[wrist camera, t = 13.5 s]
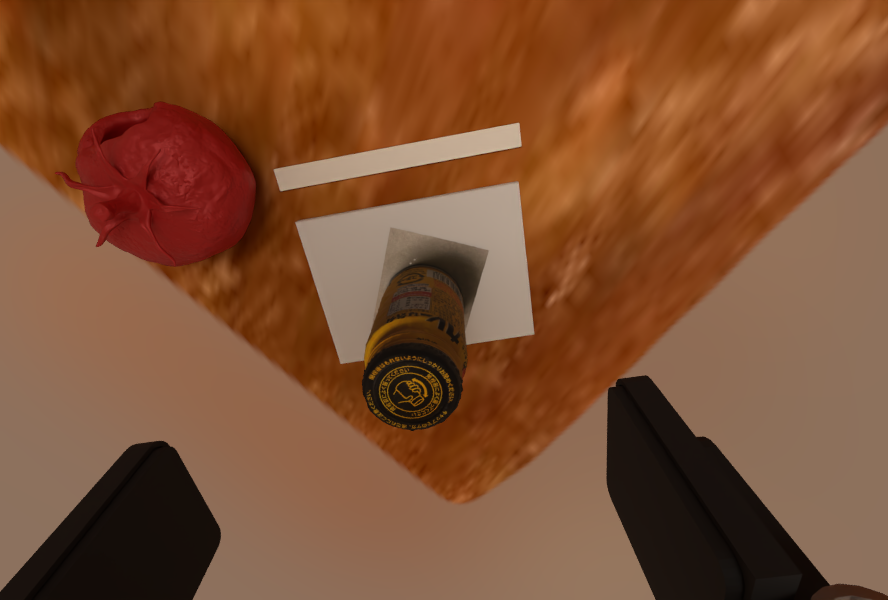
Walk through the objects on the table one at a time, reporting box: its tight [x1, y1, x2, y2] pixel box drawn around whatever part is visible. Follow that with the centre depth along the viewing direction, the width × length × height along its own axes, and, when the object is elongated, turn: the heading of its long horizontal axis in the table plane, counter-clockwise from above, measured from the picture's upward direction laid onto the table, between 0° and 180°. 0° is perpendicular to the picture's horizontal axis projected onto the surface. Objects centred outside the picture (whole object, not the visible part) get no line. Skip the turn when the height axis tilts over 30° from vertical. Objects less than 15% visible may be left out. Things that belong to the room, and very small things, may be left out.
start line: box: [273, 123, 521, 191], centre depth 29 cm, size 2×17×1 cm, turn 100°
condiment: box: [362, 227, 489, 431], centre depth 27 cm, size 7×8×12 cm
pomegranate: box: [55, 102, 256, 267], centre depth 26 cm, size 10×10×9 cm
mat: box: [295, 181, 534, 364], centre depth 32 cm, size 12×16×1 cm
